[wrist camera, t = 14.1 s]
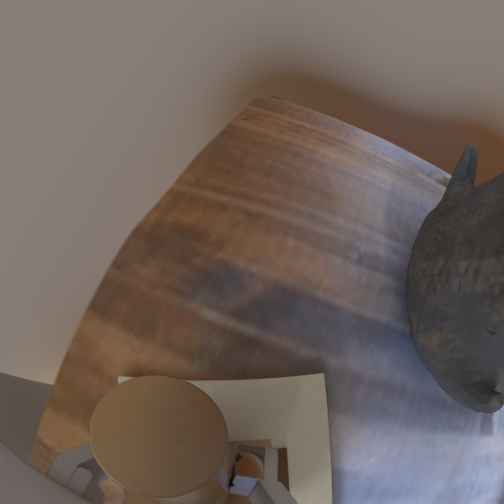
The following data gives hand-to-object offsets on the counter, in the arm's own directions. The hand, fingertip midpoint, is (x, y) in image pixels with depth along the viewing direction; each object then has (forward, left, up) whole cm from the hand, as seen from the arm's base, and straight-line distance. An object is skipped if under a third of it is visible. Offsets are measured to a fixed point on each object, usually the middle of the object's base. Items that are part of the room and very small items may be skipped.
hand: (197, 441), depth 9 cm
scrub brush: (0, -5, -6) cm, 8 cm away
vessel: (+25, +5, -8) cm, 27 cm away
